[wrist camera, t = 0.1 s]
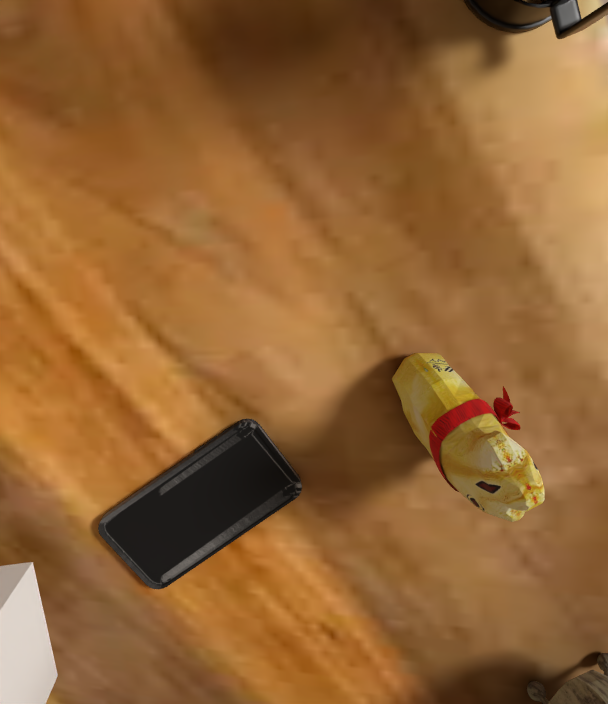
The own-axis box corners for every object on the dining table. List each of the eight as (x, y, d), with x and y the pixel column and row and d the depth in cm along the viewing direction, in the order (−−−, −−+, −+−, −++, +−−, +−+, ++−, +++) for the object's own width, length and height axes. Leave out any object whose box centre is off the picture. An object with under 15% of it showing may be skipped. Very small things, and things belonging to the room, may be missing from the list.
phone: (307, 490, 40) (155, 594, 41) (305, 483, 41) (157, 585, 42) (249, 415, 38) (90, 525, 39) (249, 410, 39) (94, 517, 40)
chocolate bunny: (432, 478, 42) (529, 604, 27) (376, 366, 39) (451, 440, 25) (504, 439, 42) (640, 545, 27) (453, 325, 39) (573, 375, 25)
